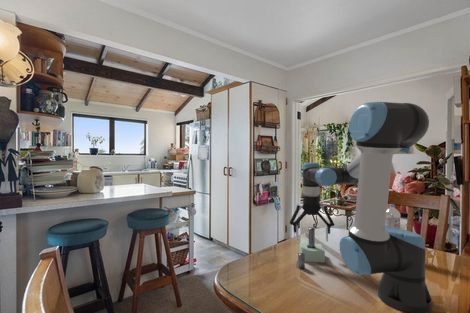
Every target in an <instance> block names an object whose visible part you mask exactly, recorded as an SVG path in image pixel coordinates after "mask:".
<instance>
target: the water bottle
mask: <svg viewBox="0 0 470 313" xmlns="http://www.w3.org/2000/svg"><path fill="white" fill-rule="evenodd" d="M401 216H402V215H401V212H400V211H399V210H398V209H397V208H395V204H393V203H390V204H389V207H387V213H386V223H385V228H386V227H389V228H397V229H401Z"/></svg>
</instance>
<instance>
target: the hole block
mask: <svg viewBox="0 0 470 313" xmlns="http://www.w3.org/2000/svg"><path fill="white" fill-rule="evenodd" d="M299 253H304V254H305V263H307V262H309V263H310V262H311V263H325V262H326V260H325V258H326V254H325V253H326V251H325V250H324V248H323V245H322V243H315V249H312V248H309V242H299Z"/></svg>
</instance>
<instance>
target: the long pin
mask: <svg viewBox="0 0 470 313" xmlns="http://www.w3.org/2000/svg"><path fill="white" fill-rule="evenodd" d="M315 229H316V228H315V227H311V226H309V227H308V230H307V231H308V243H309V248H312V249H315V244H316V240H315V239H316V238H315V236H316V235H315V234H316V233H315V232H316V230H315Z"/></svg>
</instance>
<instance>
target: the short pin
mask: <svg viewBox="0 0 470 313" xmlns="http://www.w3.org/2000/svg"><path fill="white" fill-rule="evenodd" d="M297 268H298V269H299V270H306V261H305V254H304V253H300V252H299V253H298V254H297Z"/></svg>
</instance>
